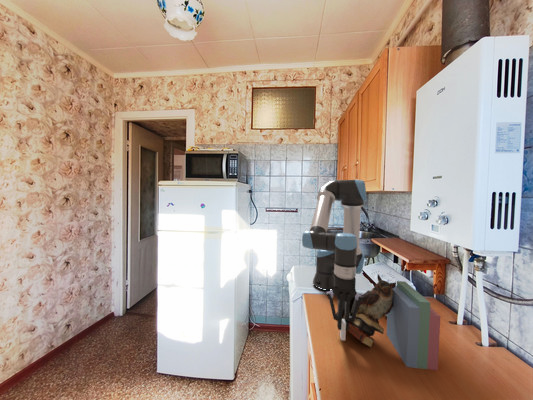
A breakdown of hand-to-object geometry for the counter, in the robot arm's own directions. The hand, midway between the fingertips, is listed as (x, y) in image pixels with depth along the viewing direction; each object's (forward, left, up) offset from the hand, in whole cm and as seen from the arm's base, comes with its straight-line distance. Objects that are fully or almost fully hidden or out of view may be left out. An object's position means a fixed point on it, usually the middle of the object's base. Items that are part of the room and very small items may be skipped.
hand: (342, 337), depth 79 cm
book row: (0, +23, -2) cm, 23 cm away
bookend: (-2, +5, 0) cm, 5 cm away
